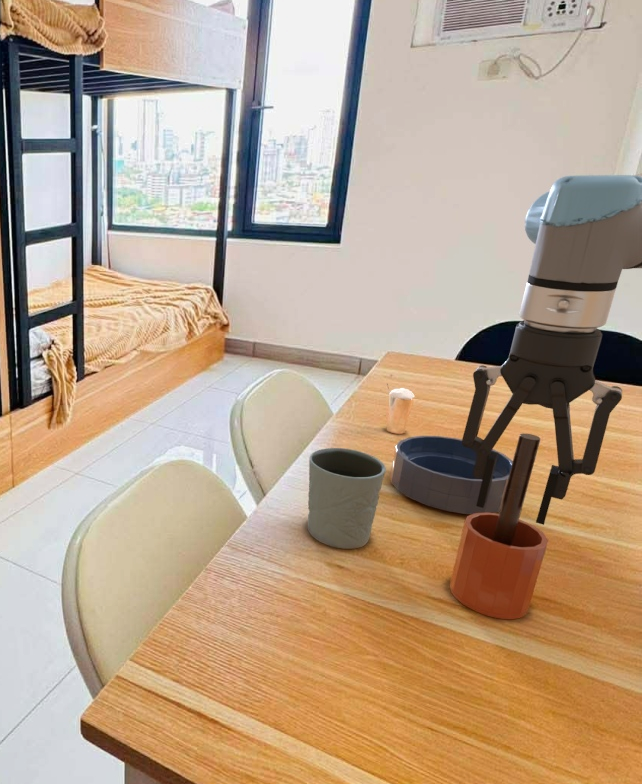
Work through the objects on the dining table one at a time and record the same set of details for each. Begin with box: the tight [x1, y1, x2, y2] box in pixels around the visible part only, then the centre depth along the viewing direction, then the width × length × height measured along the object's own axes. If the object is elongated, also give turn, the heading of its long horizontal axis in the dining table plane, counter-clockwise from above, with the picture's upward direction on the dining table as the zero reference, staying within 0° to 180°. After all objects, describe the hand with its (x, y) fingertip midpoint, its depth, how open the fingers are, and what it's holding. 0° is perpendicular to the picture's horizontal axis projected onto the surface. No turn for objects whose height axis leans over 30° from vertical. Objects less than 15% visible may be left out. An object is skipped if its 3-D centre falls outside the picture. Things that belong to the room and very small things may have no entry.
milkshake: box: [386, 383, 415, 435], centre depth 129 cm, size 4×5×10 cm
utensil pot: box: [449, 512, 549, 620], centre depth 79 cm, size 8×8×10 cm
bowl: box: [389, 435, 513, 515], centre depth 105 cm, size 17×17×6 cm
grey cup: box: [307, 447, 387, 550], centre depth 93 cm, size 10×10×12 cm
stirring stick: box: [493, 432, 541, 546], centre depth 77 cm, size 2×2×22 cm
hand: (510, 510), depth 76 cm, fingers open, 5 cm apart
